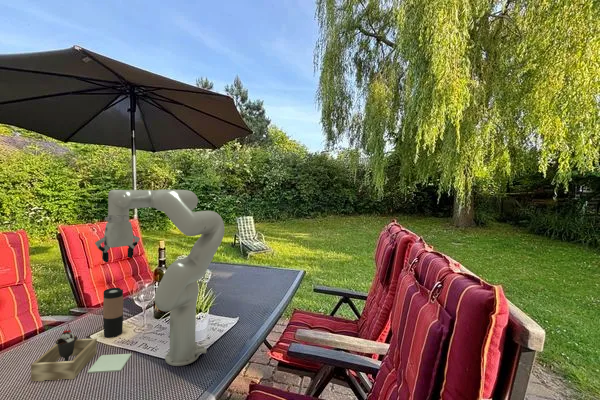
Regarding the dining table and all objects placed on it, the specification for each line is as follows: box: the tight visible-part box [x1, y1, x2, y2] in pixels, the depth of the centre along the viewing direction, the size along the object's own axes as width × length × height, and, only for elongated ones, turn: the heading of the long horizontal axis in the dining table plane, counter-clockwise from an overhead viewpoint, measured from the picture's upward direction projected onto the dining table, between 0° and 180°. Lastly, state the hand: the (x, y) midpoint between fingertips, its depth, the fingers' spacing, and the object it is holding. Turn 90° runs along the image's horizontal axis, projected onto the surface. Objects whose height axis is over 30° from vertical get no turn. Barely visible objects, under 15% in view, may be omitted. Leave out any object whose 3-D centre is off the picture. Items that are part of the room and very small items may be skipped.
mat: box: [87, 353, 133, 374], centre depth 119 cm, size 11×11×1 cm
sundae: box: [54, 323, 79, 361], centre depth 116 cm, size 7×7×15 cm
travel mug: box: [102, 287, 124, 339], centre depth 141 cm, size 8×8×20 cm
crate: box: [30, 337, 98, 382], centre depth 116 cm, size 13×17×6 cm
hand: (118, 259), depth 133 cm, fingers open, 9 cm apart
